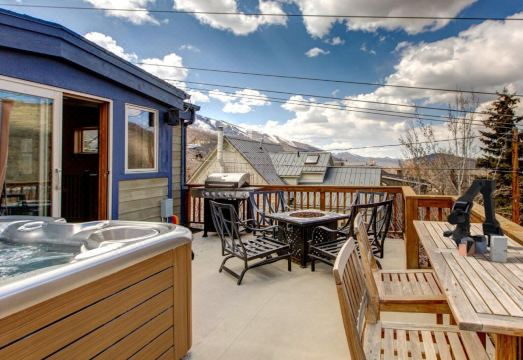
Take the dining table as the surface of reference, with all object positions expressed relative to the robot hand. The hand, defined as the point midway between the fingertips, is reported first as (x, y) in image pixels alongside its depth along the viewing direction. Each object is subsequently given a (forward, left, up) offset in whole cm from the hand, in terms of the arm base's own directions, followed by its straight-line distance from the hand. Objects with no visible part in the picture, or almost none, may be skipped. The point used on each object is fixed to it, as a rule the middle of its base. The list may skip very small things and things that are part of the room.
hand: (463, 252), depth 171 cm
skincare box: (-2, +15, -2) cm, 15 cm away
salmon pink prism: (-5, 0, -2) cm, 5 cm away
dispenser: (-12, 0, -2) cm, 13 cm away
